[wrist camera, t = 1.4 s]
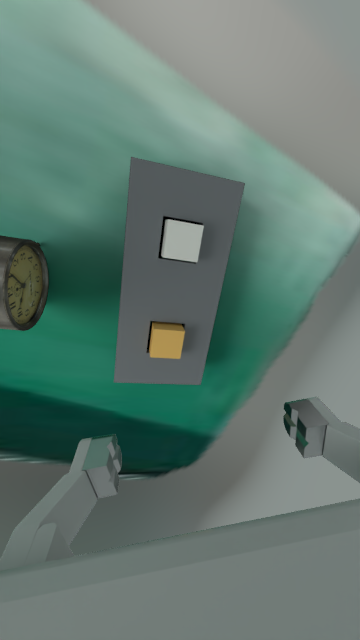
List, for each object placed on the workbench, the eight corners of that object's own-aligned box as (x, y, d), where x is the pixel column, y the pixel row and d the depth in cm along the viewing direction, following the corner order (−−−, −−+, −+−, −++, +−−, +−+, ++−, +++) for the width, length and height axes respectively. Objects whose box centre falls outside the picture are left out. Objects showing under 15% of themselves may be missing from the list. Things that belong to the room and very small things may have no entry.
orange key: (149, 347, 37) (150, 357, 34) (152, 321, 35) (153, 329, 32) (176, 349, 38) (180, 358, 35) (181, 323, 36) (185, 331, 33)
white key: (160, 254, 32) (163, 257, 29) (165, 220, 30) (168, 219, 28) (192, 259, 33) (197, 262, 30) (197, 225, 31) (203, 225, 29)
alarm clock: (52, 311, 37) (-4, 367, 22) (13, 307, 36) (-74, 364, 21) (50, 238, 33) (-17, 246, 18) (7, 231, 32) (-103, 234, 17)
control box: (116, 362, 42) (113, 382, 37) (131, 169, 32) (131, 156, 27) (192, 365, 45) (200, 384, 40) (227, 190, 35) (244, 183, 30)
